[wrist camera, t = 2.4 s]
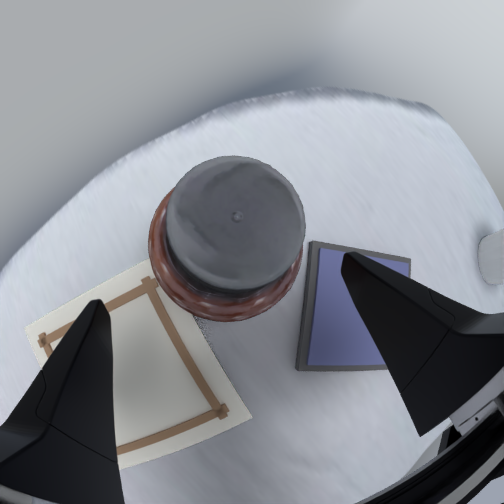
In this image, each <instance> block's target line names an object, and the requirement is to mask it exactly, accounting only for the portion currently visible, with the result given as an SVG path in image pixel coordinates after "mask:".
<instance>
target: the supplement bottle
mask: <svg viewBox="0 0 504 504" xmlns="http://www.w3.org/2000/svg"><path fill="white" fill-rule="evenodd" d="M305 228H306V224H305V215H304V211H303V205H302V203H301V200H300V198H299V196H298V194H297V192H296V191H295V189H294V187H293V185H292V184H291V183H290V182H289V181H288V180H287V179H286V178H285V177H284V176H283V175H282V174H280V173H279V172H278V171H277V170H276V169H274V168H272V167H271V166H270V165H268V164H265V163H263V162H261V161H259V160H256V159H253V158H250V157H242V156H222V157H217V158H214V159H211V160H208V161H205V162H202V163H201V164H199V165H197V166H195V167H193V168H192V169H191V170H190V171H188V172H187V173H186V174H185V176H184V177H183V178H181V179H180V181H179V182H178V183H177V185H176V186H175V187H174V188H173V189H172V190H171V191H170V192H169V193H168V194H167V195H166V196H165V197H164V199H163V200H162V201H161V203H160V205H159V206H158V208H157V209H156V211H155V214H154V217H153V219H152V222H151V226H150V230H149V239H148V251H149V257H150V262H151V266H152V270H153V273H154V275H155V277H156V279H157V281H158V283H159V285H160V286H161V288H162V289H163V291H164V292H165V293H166V294H167V295H168V297H169V298H170V299H171V300H172V301H173V302H174V303H176V304H177V305H178V306H179V307H181V308H182V309H184V310H185V311H187V312H189V313H191V314H193V315H195V316H198V317H201V318H204V319H208V320H213V321H220V322H234V321H242V320H245V319H249V318H252V317H254V316H257V315H259V314H261V313H263V312H265V311H267V310H268V309H270V308H271V307H272V306H274V305H275V304H276V303H277V302H278V301H280V300H281V299H282V298H283V297H284V296H285V294H286V293H287V292H288V291H289V290H290V289H291V287H292V284H293V282H294V281H295V278H296V276H297V274H298V271H299V269H300V265H301V260H302V254H303V241H304V237H305Z"/></svg>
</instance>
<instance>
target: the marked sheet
mask: <svg viewBox="0 0 504 504" xmlns="http://www.w3.org/2000/svg"><path fill="white" fill-rule="evenodd" d="M94 299H101V300H102V301H103V303H104V305H105V307H106V309H107V311H108V312H109V314H110V318H111V331H112V347H113V403H114V424H115V437H116V448H117V457H118V465H119V470H120V469H124V468H128V467H131V466H135V465H138V464H141V463H144V462H148V461H151V460H154V459H157V458H160V457H163V456H166V455H168V454H171V453H174V452H177V451H179V450H182V449H184V448H187V447H190V446H192V445H195V444H197V443H199V442H202V441H204V440H207V439H209V438H211V437H213V436H216V435H218V434H220V433H222V432H225V431H227V430H229V429H231V428H233V427H235V426H237V425H239V424H241V423H243V422H245V421H247V420H249V419H251V418H253V416H252V415H251V413H250V412H249V410H248V409H247V407H246V406H245V404H244V403H243V401H242V399H241V398H240V396H239V395H238V393H237V391H236V390H235V388H234V387H233V385H232V383H231V382H230V380H229V378H228V377H227V375H226V374H225V372H224V370H223V368H222V367H221V365H220V363H219V362H218V360H217V358H216V357H215V355H214V353H213V351H212V350H211V348H210V346H209V344H208V343H207V341H206V339H205V337H204V335H203V334H202V332H201V330H200V328H199V326H198V324H197V323H196V321H195V319H194V317H193V315H192V314H191V313H189V312H187V311H185V310H184V309H182V308H181V307H179V306H178V305H177V304H176V303H174V302H173V301H172V300H171V299H170V298H169V297H168V295H167V294H166V293H165V292H164V291H163V289H162V288H161V286H160V285H159V283H158V281H157V279H156V277H155V275H154V273H153V270H152V266H151V262H150V258H148V259H146V260H144V261H142V262H140V263H138V264H136V265H135V266H133V267H131V268H129V269H127V270H125V271H123V272H121V273H119V274H118V275H116V276H114V277H112V278H110V279H108V280H106V281H105V282H103V283H101V284H99V285H97V286H96V287H94V288H92V289H90V290H88V291H86V292H85V293H83V294H81V295H79V296H78V297H76V298H74V299H72V300H70V301H69V302H67V303H65V304H63V305H62V306H60V307H58V308H57V309H55V310H53V311H51V312H50V313H48V314H46V315H45V316H43V317H41V318H40V319H38V320H36V321H34V322H33V323H31V324H29V325H28V326H26V327H25V328H24V329H25V332H26V335H27V337H28V340H29V342H30V345H31V347H32V349H33V352H34V354H35V356H36V358H37V361H38V363H39V365H40V367H41V369H42V367H43V366H44V364H45V362H46V361H47V359H48V358H49V356H50V355H51V353H52V352H53V351H54V349H55V348H56V346H57V345H58V343H59V342H60V340H61V339H62V338H63V336H64V335H65V333H66V332H67V331H68V329H69V328H70V326H71V325H72V324H73V322H74V321H75V320H76V318H77V317H78V316H79V314H80V313H81V312H82V310H83V309H84V308H85V306H86V305H87V304H88V303H89V301H91V300H94Z"/></svg>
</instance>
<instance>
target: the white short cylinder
mask: <svg viewBox="0 0 504 504" xmlns="http://www.w3.org/2000/svg"><path fill="white" fill-rule="evenodd" d="M478 263H479V268H480V272H481V275H482V277H483V279H484V280H485V281H486V282H487V284H492V285H494V284H504V229H502V230H499V231H497V232H495V233H493V234H491V235H488V236H486V237H484V238H483V239H482V240H481V242H480V244H479V249H478Z"/></svg>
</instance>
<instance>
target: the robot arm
mask: <svg viewBox="0 0 504 504" xmlns="http://www.w3.org/2000/svg"><path fill="white" fill-rule="evenodd" d="M341 275H342V278H343V280H344V282H345V285H346V287H347V289H348V292H349V294H350V296H351V299H352V301H353V303H354V305H355V307H356V309H357V311H358V313H359V315H360V317H361V318H362V320H363V322H364V324H365V326H366V328H367V330H368V331H369V333H370V335H371V337H372V339H373V341H374V343H375V345H376V346H377V348H378V350H379V352H380V354H381V356H382V358H383V360H384V362H385V364H386V366H387V368H388V370H389V372H390V374H391V376H392V378H393V380H394V382H395V384H396V386H397V388H398V390H399V392H400V393H401V394H400V395H401V397H402V399H403V401H404V403H405V406H406V408H407V410H408V412H409V414H410V416H411V419H412V421H413V423H414V425H415V428H416V430H417V432H418V434H419V436H420V437H421V436H423V435H424V434H426V433H427V432H429V431H430V430H432V429H433V428H434V427H436V426H437V425H439V424H440V423H442V422H443V421H444V420H446V419H447V418H448V417H449V418H450V420H451V421H452V423H453V425H452V426H450V427H449V428H448V429H446V430H445V431H444V432H443V434H442V439H441V443H440V447H439V450H438V455H437V456H436V457H435V458H433V459H432V460H430V461H429V462H428V463H426V464H425V465H423V466H422V467H420V468H419V469H417V470H416V471H414V472H413V473H411V474H409V475H408V476H406V477H404V478H403V479H401V480H399V481H398V482H396V483H394V484H393V485H391V486H389V487H387V488H385V489H383V490H382V491H380V492H378V493H376V494H374V495H372V496H370V497H368V498H366V499H364V500H362V501H359V502H357V503H355V504H467V503H468V502H469V501H470V500H471V499H472V498H473V497H475V496H476V495H477V494H478V493H479V492H480V491H481V490H482V489H483V488H484V487H485V486H486V485H487V484H488V483H489V482H490V481H491V480H493V479H496V478H498V477H501V476H503V475H504V313H497V314H484V313H481V312H478V311H476V310H474V309H472V308H469V307H467V306H465V305H463V304H461V303H458V302H456V301H454V300H452V299H450V298H448V297H445V296H443V295H442V294H440V293H438V292H436V291H434V290H432V289H430V288H428V287H426V286H424V285H422V284H420V283H418V282H416V281H414V280H413V279H411V278H409V277H407V276H405V275H403V274H401V273H399V272H397V271H395V270H393V269H391V268H389V267H387V266H385V265H383V264H381V263H379V262H377V261H374V260H372V259H370V258H368V257H366V256H364V255H362V254H360V253H358V252H356V251H350V252H346V253H344V255H343V260H342V265H341ZM0 504H125V502H124V497H123V491H122V485H121V479H120V472H119V465H118V457H117V448H116V437H115V424H114V403H113V347H112V331H111V318H110V314H109V312H108V311H107V309H106V307H105V305H104V303H103V301H102V300H101V299H94V300H91V301H89V303H88V304H87V305H86V306H85V308H84V309H83V310H82V312H81V313H80V314H79V316H78V317H77V318H76V320H75V321H74V322H73V324H72V325H71V326H70V328H69V329H68V331H67V332H66V333H65V335H64V336H63V338H62V339H61V340H60V342H59V343H58V345H57V346H56V348H55V349H54V351H53V352H52V353H51V355H50V356H49V358H48V359H47V361H46V362H45V364H44V366H43V367H42V370H40V372H39V373H38V375H37V376H36V378H35V379H34V381H33V382H32V384H31V386H30V387H29V389H28V390H27V391H26V393H25V394H24V396H23V397H22V399H21V400H20V401H19V403H18V404H17V406H16V407H15V408H14V410H13V411H12V413H11V414H10V416H9V417H8V419H7V420H6V421H5V422H4V423H3V424H2V425H1V426H0ZM501 504H504V503H501Z"/></svg>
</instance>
